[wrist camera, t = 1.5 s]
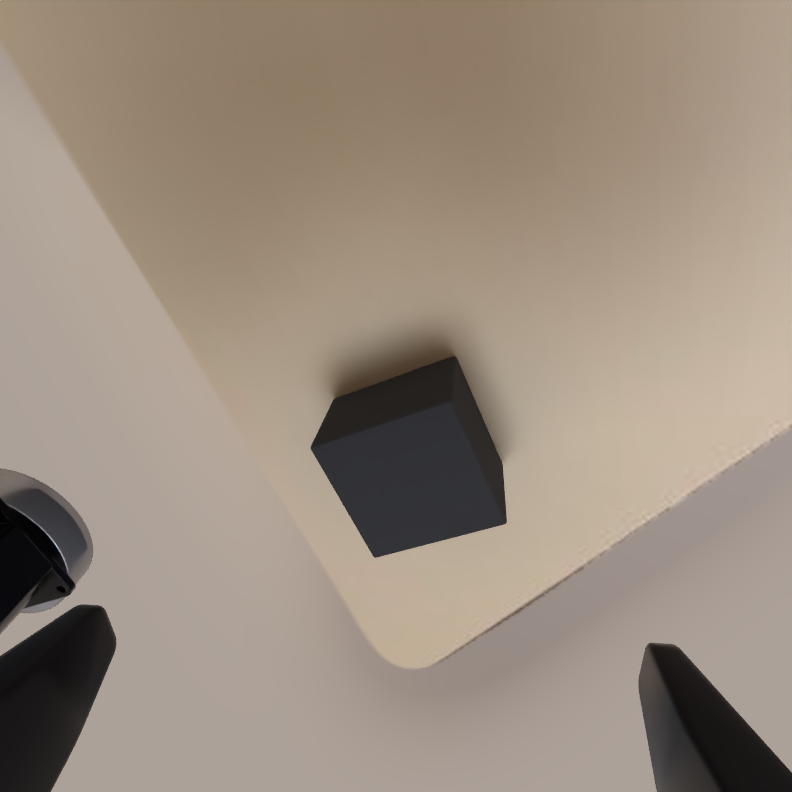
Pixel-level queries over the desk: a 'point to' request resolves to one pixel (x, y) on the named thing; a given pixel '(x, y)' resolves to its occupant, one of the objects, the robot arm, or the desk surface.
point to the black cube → (413, 460)
